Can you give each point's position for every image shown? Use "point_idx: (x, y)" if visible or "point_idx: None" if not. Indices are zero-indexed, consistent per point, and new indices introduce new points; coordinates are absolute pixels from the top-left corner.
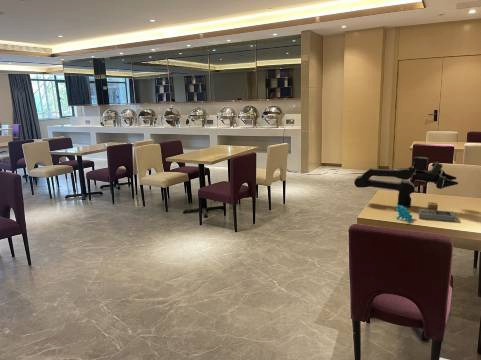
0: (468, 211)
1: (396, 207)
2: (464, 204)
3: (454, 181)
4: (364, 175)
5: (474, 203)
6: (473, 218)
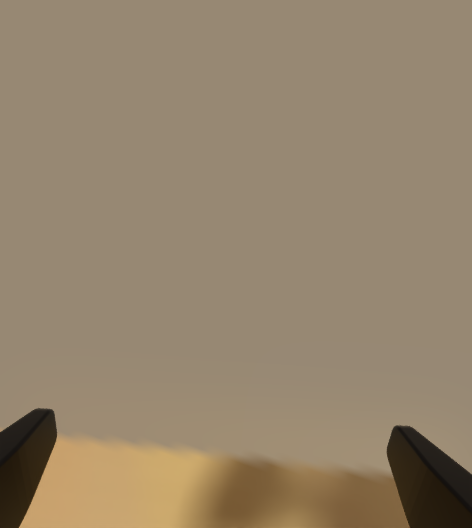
0: (248, 512)
1: None
2: (31, 521)
3: (467, 478)
4: None
5: None
6: None
